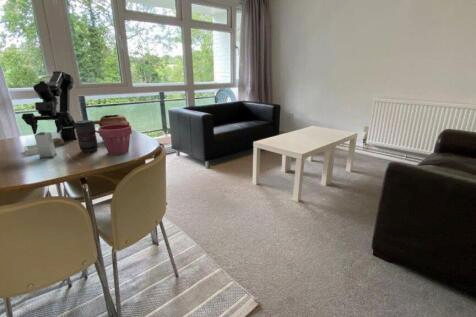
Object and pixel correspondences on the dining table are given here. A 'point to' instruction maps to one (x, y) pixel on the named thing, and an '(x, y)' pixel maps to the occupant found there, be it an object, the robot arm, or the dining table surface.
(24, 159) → the dining table surface
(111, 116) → the decorative planter
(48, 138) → the housing
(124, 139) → the plant pot
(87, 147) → the camera lens
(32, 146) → the stand
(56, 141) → the walnut block
